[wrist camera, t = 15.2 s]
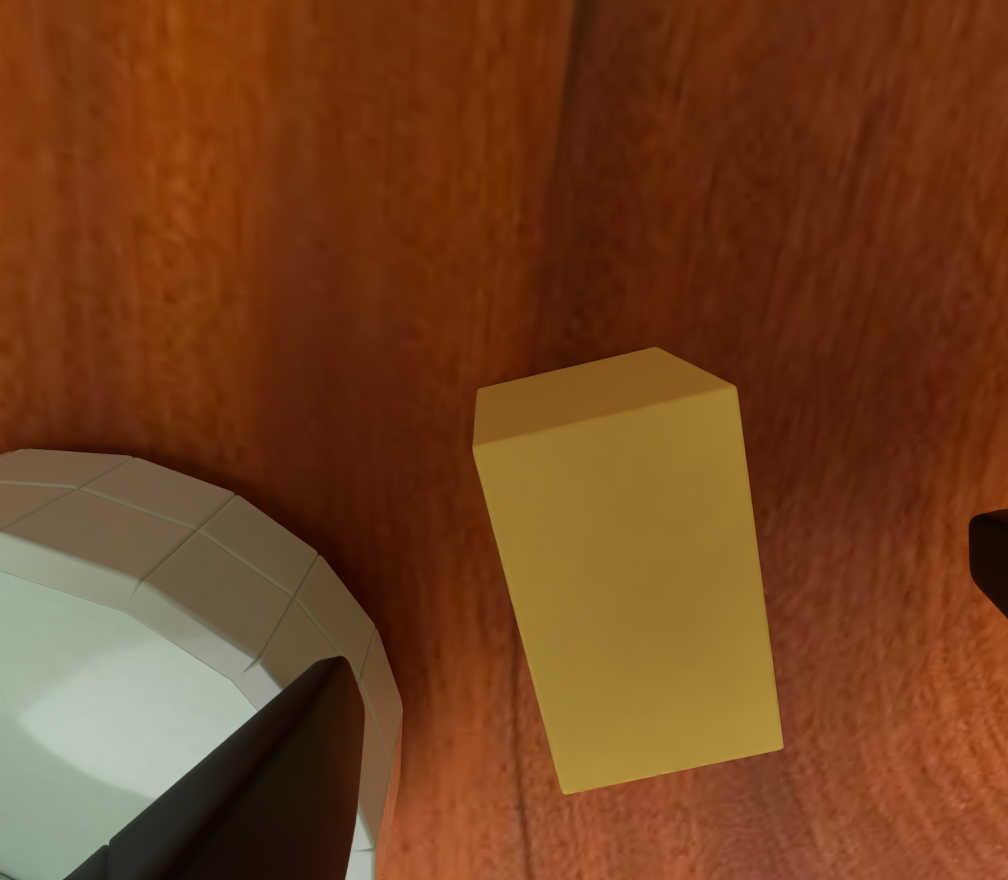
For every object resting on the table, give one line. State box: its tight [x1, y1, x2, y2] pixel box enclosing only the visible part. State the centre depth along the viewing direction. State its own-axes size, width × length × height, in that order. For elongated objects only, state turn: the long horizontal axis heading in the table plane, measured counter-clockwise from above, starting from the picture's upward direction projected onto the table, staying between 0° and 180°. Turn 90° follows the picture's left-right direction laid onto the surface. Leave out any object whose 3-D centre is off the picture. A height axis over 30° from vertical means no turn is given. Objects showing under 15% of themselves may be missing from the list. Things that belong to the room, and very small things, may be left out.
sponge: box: [472, 347, 784, 795], centre depth 11 cm, size 6×4×4 cm, turn 13°
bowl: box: [0, 449, 403, 880], centre depth 12 cm, size 12×12×4 cm
